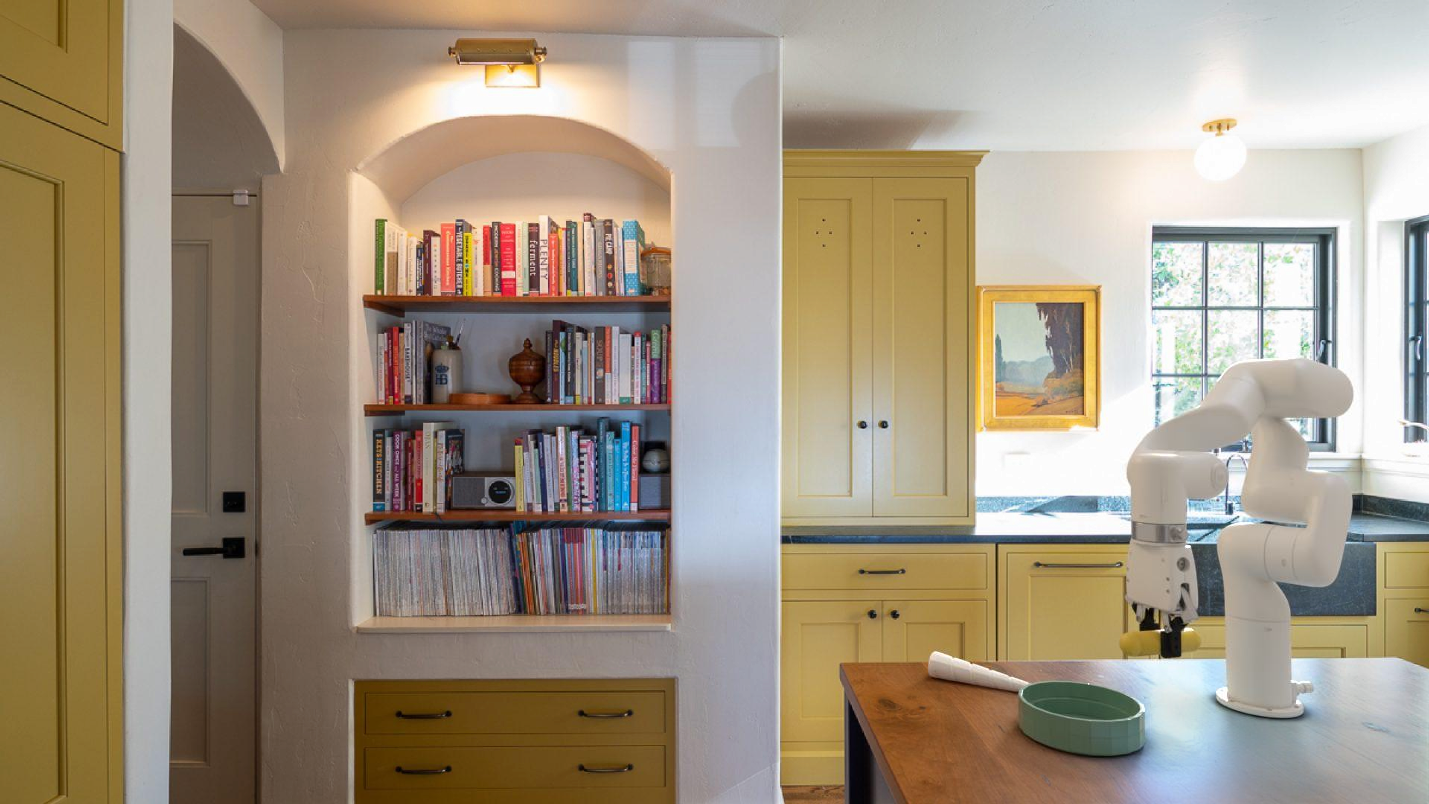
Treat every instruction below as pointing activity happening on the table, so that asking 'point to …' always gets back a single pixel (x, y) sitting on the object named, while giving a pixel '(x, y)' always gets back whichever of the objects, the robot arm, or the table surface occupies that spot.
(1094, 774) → the table surface
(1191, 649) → the yellow rounded capsule
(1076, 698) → the green round dish
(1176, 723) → the table surface
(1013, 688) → the unicorn horn
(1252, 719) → the table surface
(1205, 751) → the table surface
